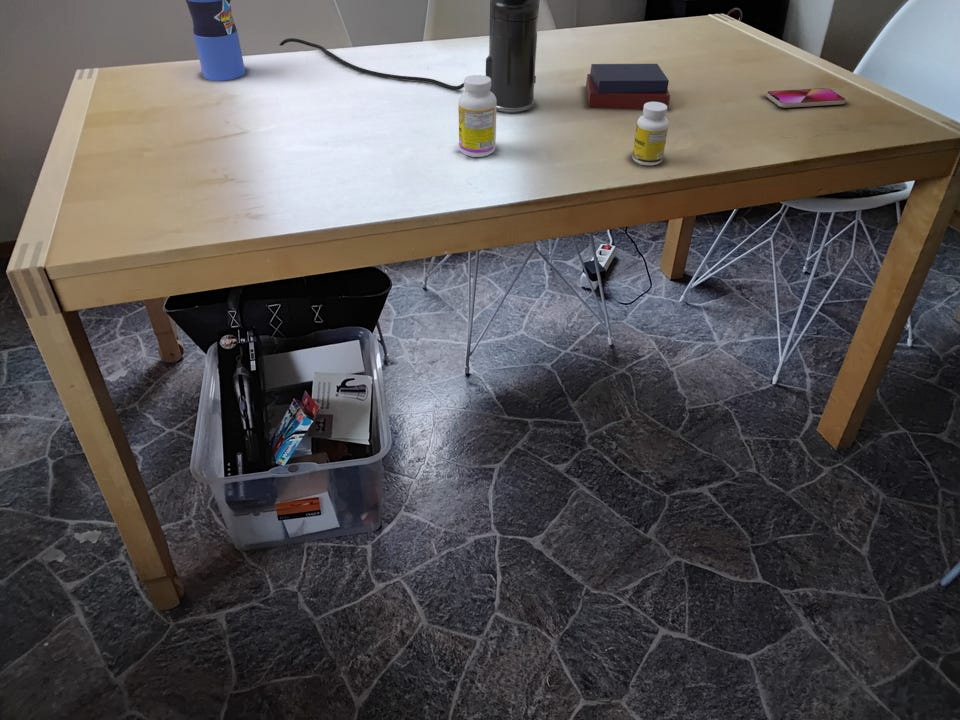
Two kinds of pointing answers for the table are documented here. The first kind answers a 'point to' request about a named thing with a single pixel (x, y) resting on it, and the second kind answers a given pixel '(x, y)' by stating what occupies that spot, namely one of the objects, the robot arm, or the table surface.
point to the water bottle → (216, 39)
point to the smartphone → (805, 97)
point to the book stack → (626, 86)
